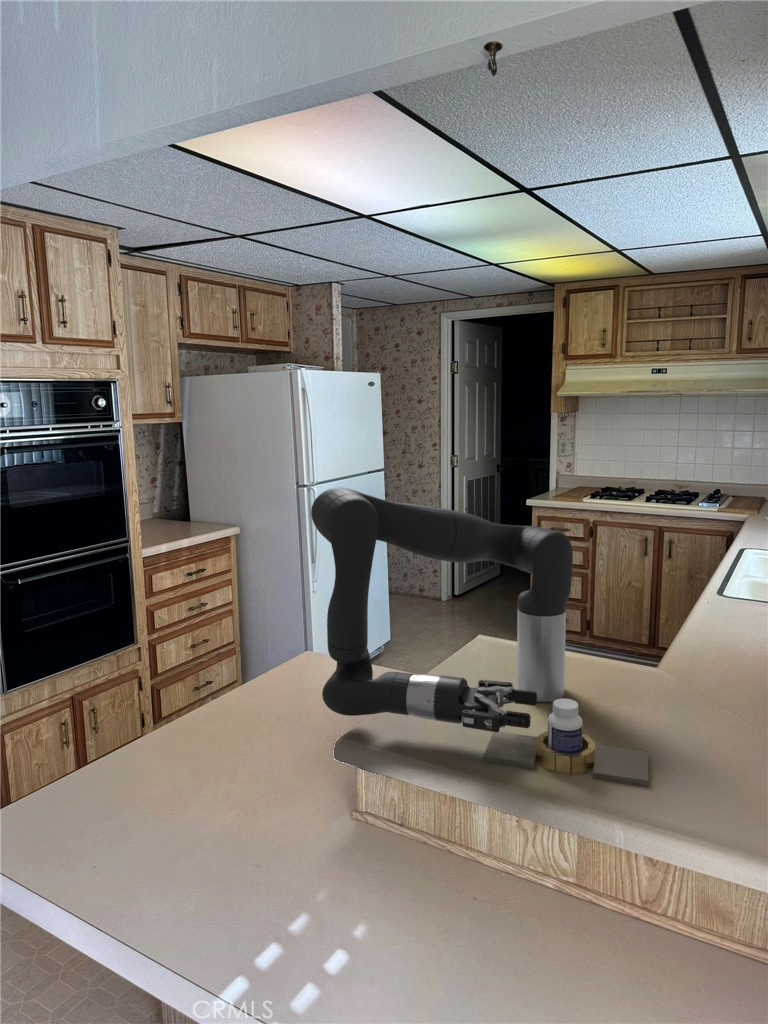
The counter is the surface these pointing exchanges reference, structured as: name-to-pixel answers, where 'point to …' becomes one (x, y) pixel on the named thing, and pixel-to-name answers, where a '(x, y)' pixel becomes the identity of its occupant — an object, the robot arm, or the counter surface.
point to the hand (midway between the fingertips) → (533, 709)
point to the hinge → (569, 758)
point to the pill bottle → (565, 727)
